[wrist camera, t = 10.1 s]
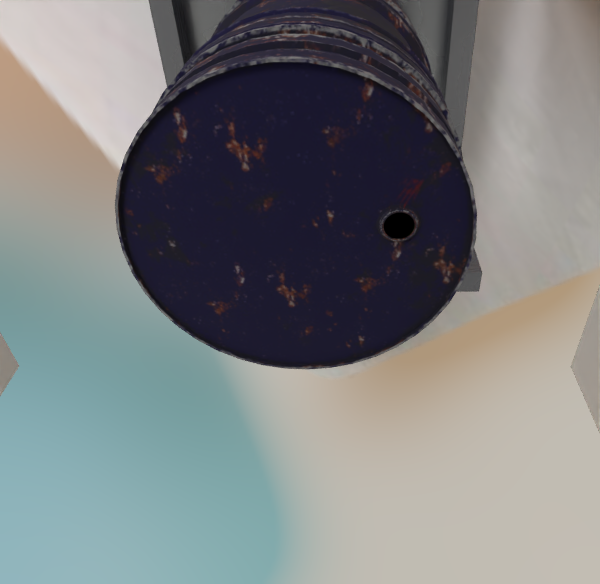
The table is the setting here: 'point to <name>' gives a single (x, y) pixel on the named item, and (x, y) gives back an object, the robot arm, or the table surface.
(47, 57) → the table surface
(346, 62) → the dark navy cylinder
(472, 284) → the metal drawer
